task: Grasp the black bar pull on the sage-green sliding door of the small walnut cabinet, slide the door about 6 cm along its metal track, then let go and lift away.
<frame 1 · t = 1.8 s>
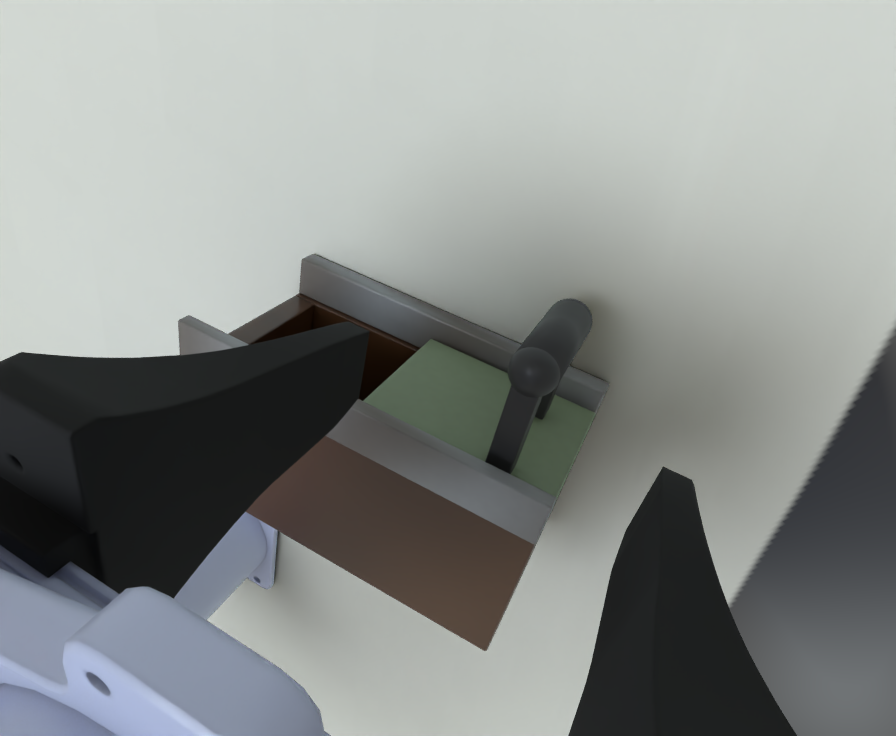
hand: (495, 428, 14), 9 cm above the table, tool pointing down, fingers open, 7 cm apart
cabinet: (428, 403, 26), on the table
closet door: (497, 365, 19), point 4 cm above the table, slide at 0.0 cm
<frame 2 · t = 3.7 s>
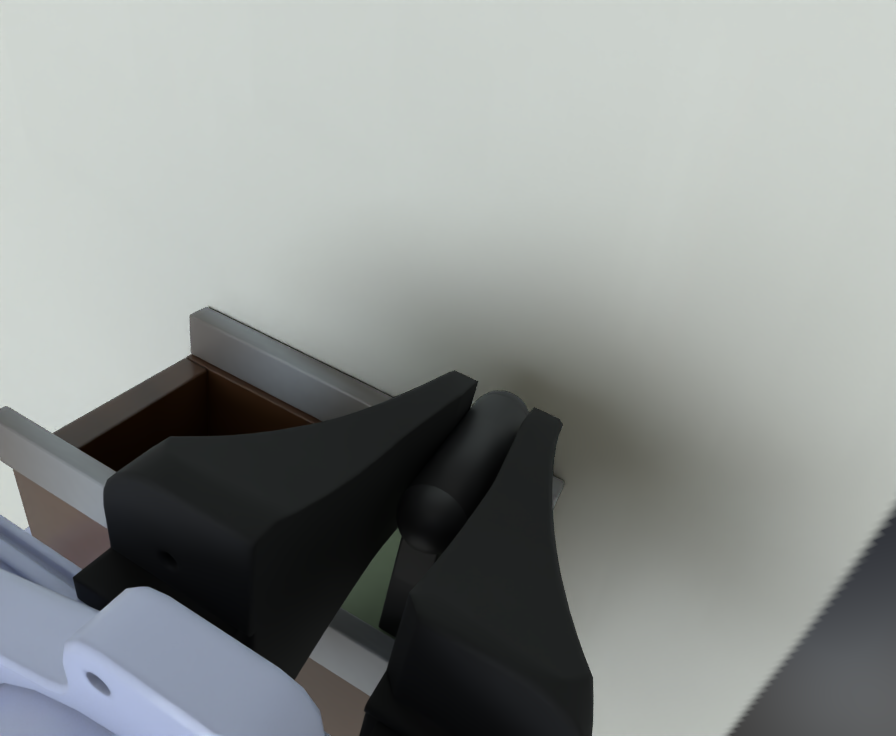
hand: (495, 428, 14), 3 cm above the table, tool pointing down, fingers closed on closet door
cabinet: (353, 487, 21), on the table
closet door: (406, 477, 14), point 4 cm above the table, slide at 0.0 cm, touching gripper
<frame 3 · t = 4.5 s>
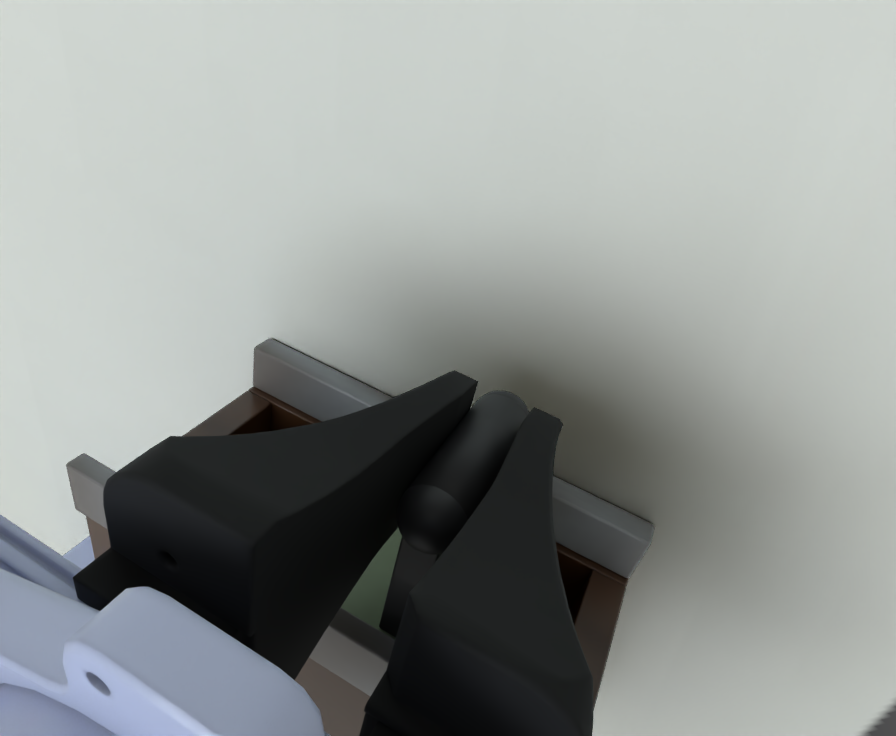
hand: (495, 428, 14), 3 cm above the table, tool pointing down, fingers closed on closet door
cabinet: (418, 522, 21), on the table
closet door: (406, 477, 14), point 4 cm above the table, slide at 2.6 cm, touching gripper
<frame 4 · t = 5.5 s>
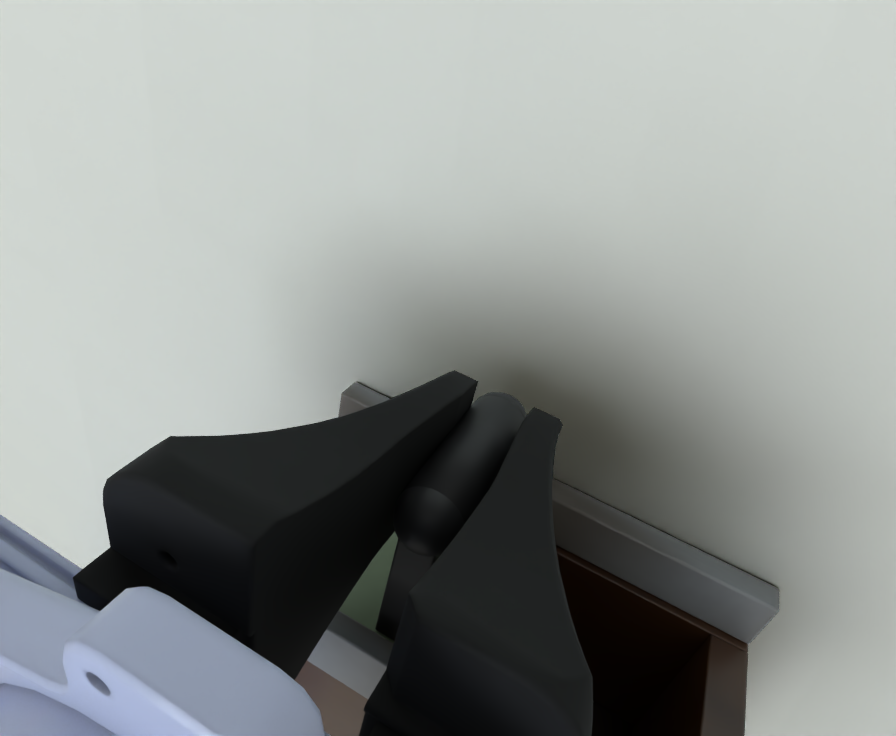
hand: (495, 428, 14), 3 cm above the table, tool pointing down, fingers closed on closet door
cabinet: (505, 572, 20), on the table
closet door: (403, 478, 14), point 4 cm above the table, slide at 6.0 cm, touching gripper
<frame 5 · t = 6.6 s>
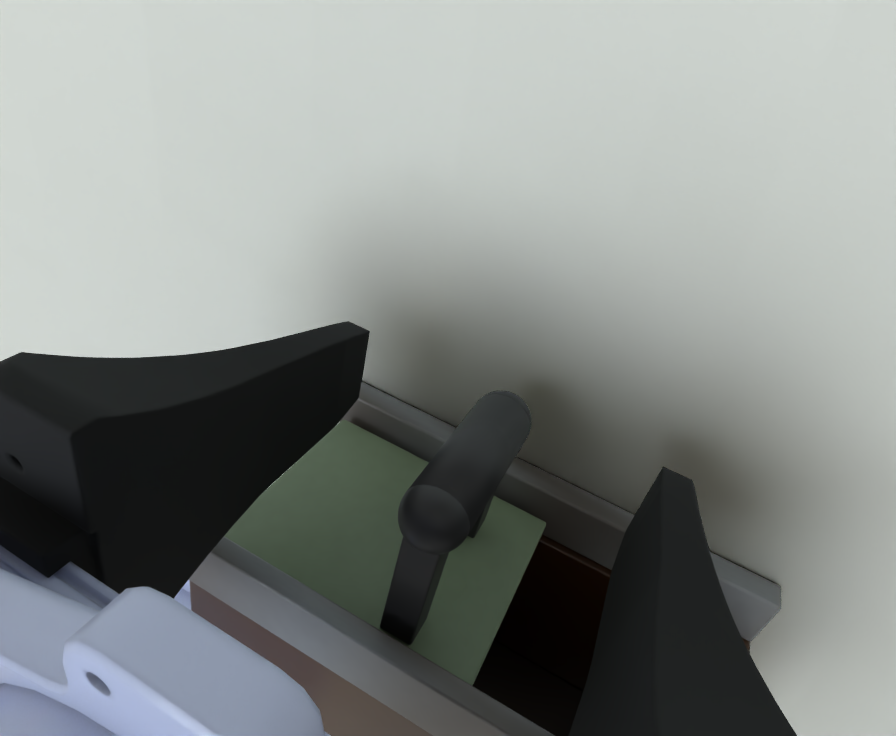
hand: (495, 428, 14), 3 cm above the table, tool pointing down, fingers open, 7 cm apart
cabinet: (507, 570, 20), on the table
closet door: (407, 477, 14), point 4 cm above the table, slide at 6.0 cm
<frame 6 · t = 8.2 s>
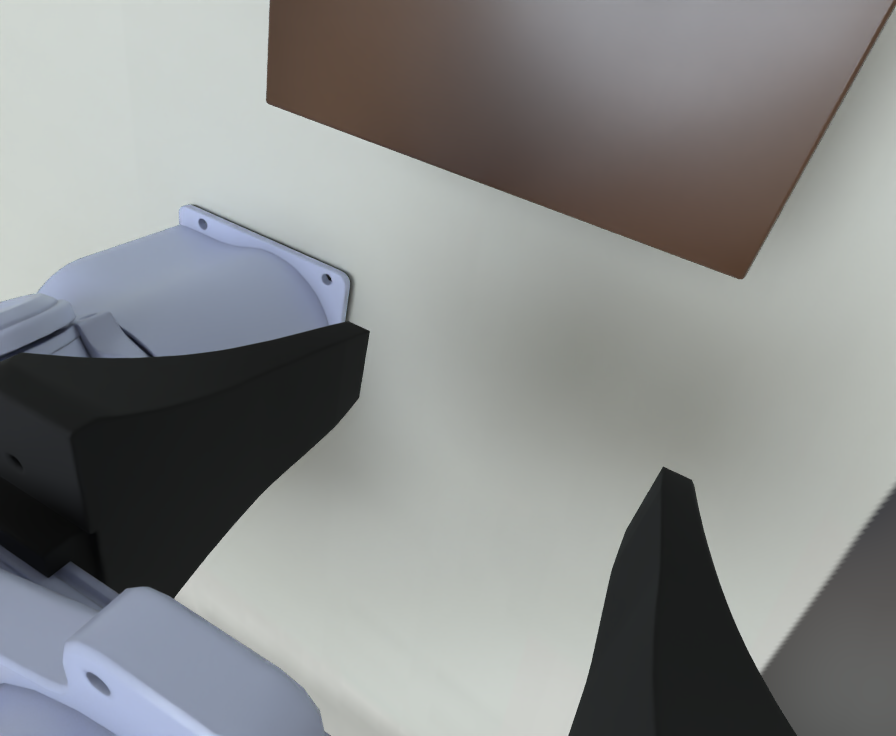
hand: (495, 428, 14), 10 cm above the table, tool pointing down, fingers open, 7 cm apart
cabinet: (589, 41, 19), on the table
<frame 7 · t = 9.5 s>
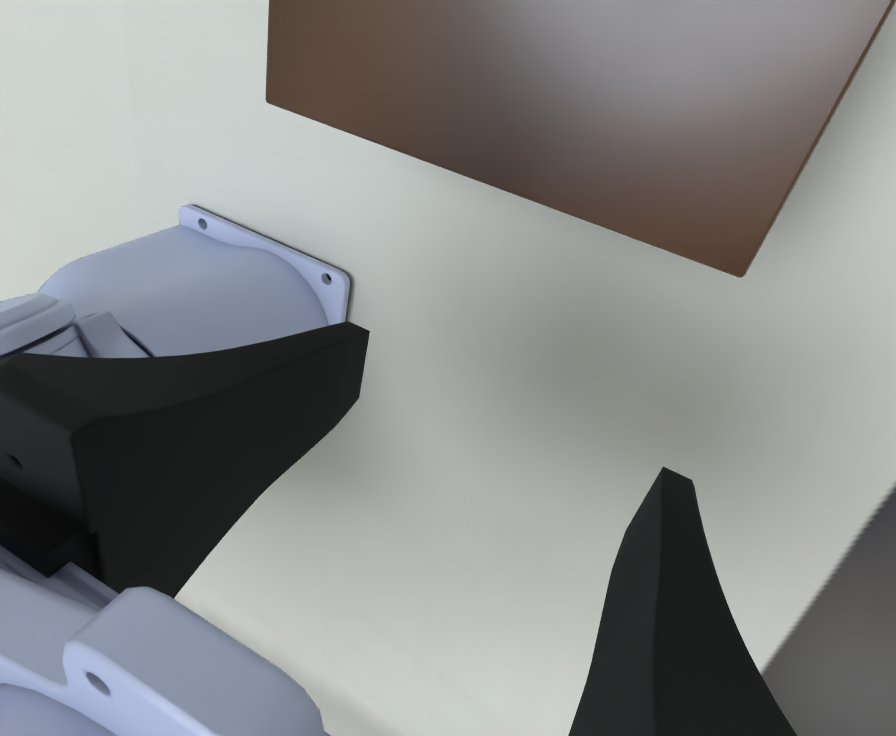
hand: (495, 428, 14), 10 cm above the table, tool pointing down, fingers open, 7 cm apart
cabinet: (588, 40, 19), on the table
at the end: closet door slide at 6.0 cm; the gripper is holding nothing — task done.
